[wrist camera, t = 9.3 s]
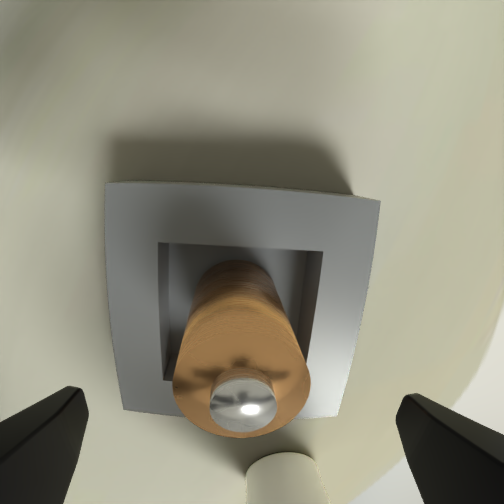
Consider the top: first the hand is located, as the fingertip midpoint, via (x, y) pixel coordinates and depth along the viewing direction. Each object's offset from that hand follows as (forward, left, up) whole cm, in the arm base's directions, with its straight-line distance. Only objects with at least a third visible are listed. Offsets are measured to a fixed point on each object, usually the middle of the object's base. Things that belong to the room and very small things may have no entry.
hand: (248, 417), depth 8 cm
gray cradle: (0, 0, -9) cm, 9 cm away
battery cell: (0, 0, -8) cm, 8 cm away
